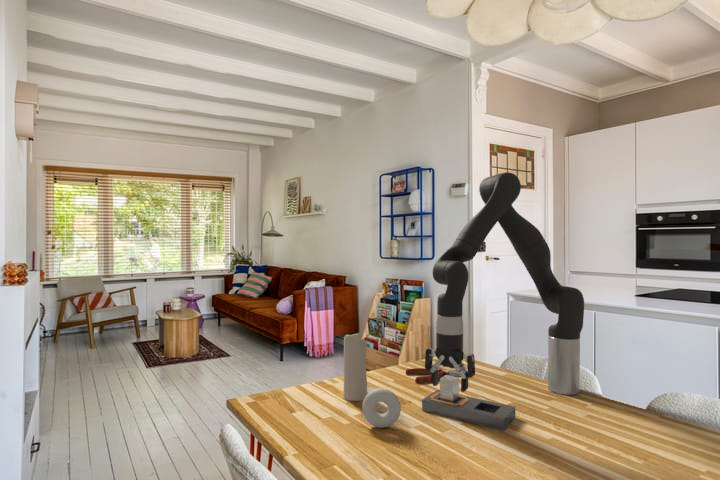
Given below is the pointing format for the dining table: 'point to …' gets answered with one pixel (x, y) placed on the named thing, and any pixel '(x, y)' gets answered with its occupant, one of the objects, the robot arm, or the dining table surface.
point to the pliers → (427, 372)
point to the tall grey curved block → (355, 368)
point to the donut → (373, 415)
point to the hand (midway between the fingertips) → (449, 388)
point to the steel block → (449, 389)
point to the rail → (471, 410)
